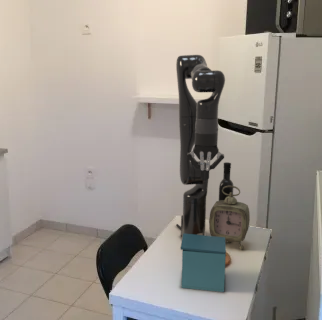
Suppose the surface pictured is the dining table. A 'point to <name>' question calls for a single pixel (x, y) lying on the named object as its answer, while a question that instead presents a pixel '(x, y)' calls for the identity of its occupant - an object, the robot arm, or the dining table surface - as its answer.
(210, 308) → the dining table surface
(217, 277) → the teal open box
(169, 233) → the dining table surface
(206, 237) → the teal box lid
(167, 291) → the dining table surface
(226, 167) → the wine bottle
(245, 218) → the tabletop clock
